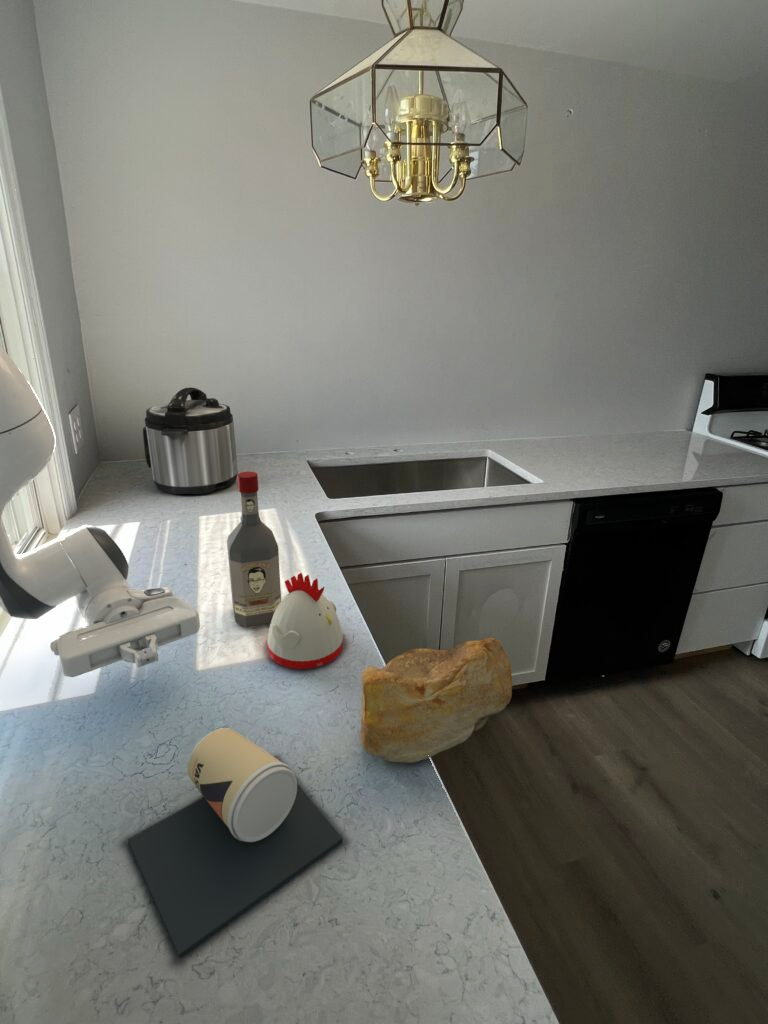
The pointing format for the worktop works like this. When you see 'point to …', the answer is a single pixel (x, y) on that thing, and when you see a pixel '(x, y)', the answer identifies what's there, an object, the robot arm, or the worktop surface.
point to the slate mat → (223, 865)
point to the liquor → (253, 561)
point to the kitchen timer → (304, 627)
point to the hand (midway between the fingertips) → (148, 660)
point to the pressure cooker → (190, 444)
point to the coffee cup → (242, 783)
